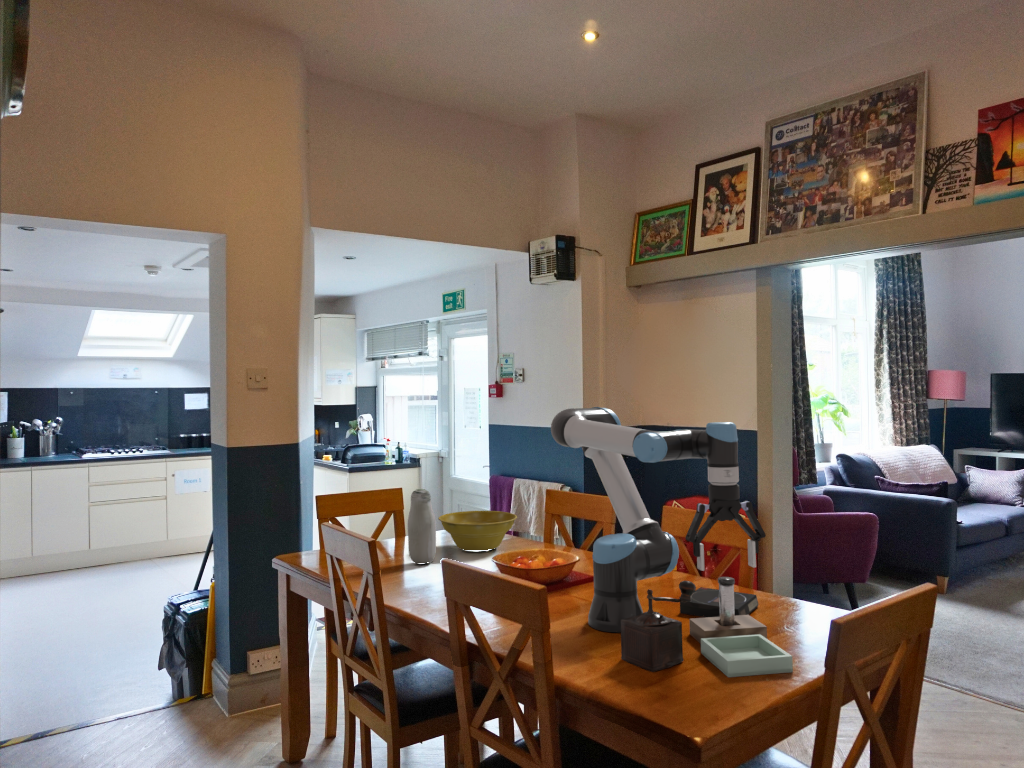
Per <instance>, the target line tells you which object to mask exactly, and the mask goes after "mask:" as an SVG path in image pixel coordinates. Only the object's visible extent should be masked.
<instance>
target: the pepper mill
mask: <svg viewBox="0 0 1024 768" xmlns="http://www.w3.org/2000/svg"><path fill="white" fill-rule="evenodd" d="M678 588H679V590H680V593H681V594H680V596H679V598H675V597H674V598H673V597H668V596H667V597H664V596H658V597H656V596H653V590H652V589H650V588H649V589H647V591H646V593H647V595H646V599H647V600H648V609H647V611H643V613H642V614H640V615H638V616H634V617H630V618H627V619H623V620H621V632H620V645H621V647H620V651H621V652H620V653H621V654H620V655H621V657H620V659H621V660H622V661H623V662H626V663H628V664H631V665H633V666H636V667H637V668H640V669H643V670H645V671H648V672H651V673H655V672H657V671H661V670H662V671H663V670H665V669H668V668H671V667H673V666H676V665H679V664H681V663H683V662H684V657H683V654H684V653H683V650H684V649H683V648H684V647H683V623H682V621H679V620H677V619H674V618H671V617H667V616H664V615H663V614H661V613H660V612H657V611H654V609H653V601H656V602H671V603H680V602H684V603H685V602H687V601H689V602H691V601H692V600H691V595H692V594H693V593H694V592H695V591H696V590H697V587H696V584H695V583H694V582H693V581H690V580H682V581H680V582H679V584H678Z"/></svg>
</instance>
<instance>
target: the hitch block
mask: <svg viewBox="0 0 1024 768" xmlns="http://www.w3.org/2000/svg"><path fill="white" fill-rule="evenodd" d="M688 623H689V635H690V636H691V637H692V638H694V639H695V641H697V642H698V643H699V644H701V638H715V637H729V636H743V635H757V634H761V635H762V636H763V637H765V638H766V639H768V627H767V626H766V625H765V624H764V623H762V622H760V621H759V620H757V619H755V618H754V617H753V616H751V615H750V614H749V615H736V616H735V625H734V626H721V625H720V617H696V618H695V617H694V618H689V622H688Z"/></svg>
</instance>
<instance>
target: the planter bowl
mask: <svg viewBox="0 0 1024 768" xmlns="http://www.w3.org/2000/svg"><path fill="white" fill-rule="evenodd" d="M517 519H518V516H517V514H514V513H511V512H506V511H498V510H465V511H456V512H455V511H454V512H449V513H445V514H442V515H440V516H438V521H440V522H441V525H442V527H443V529H444V531H445V532H447V533H449V534H450V537H451V539H452V540H453V542H454V544H455V545H456V547H457V548H458V549H460V550H461V549H464V550H488V549H494V548H496V549H497V548H499V546H500V545H502V541H504V538H505V535H506V533H507V532H509V531H511V529H512V527H513V525H514V523H515V520H517Z"/></svg>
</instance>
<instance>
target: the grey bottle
mask: <svg viewBox="0 0 1024 768" xmlns="http://www.w3.org/2000/svg"><path fill="white" fill-rule="evenodd" d="M407 536H408V537H407V538H408V539H407V541H408V542H407V543H408V544H407V545H408V554H409V557H410V559H411V561H412V562H413V563H414V562H415V563H414V564H416V563H427V562H430V563H432V562H433V561H434V559H435V557H436V554H437V553H436V552H437V523H436V516H435V512H434V510H433V505H432V498H431V493H430V492H429V491H428V490H427V489H423V488H418V489H417V488H416V489H415V490H413V491H412V492H411V495H410V509H409V513H408V519H407ZM431 561H432V562H431Z"/></svg>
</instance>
